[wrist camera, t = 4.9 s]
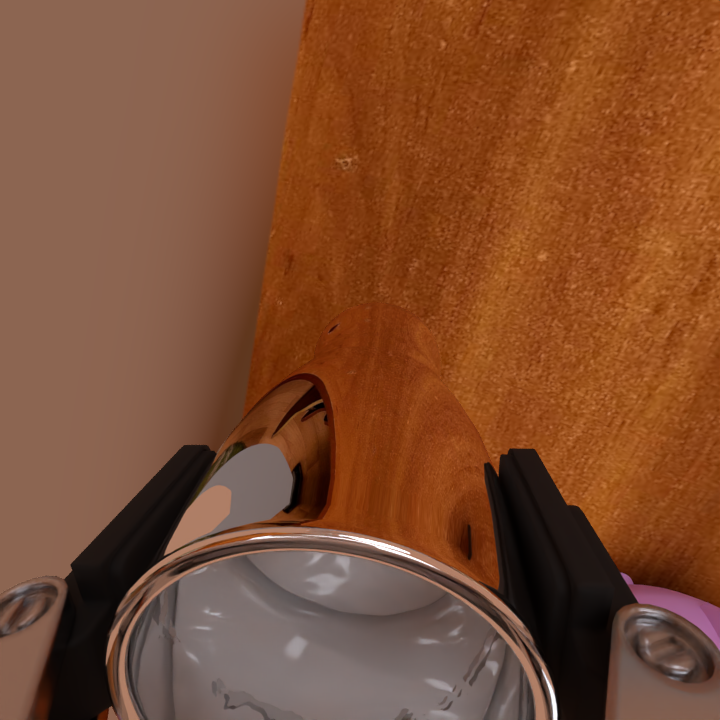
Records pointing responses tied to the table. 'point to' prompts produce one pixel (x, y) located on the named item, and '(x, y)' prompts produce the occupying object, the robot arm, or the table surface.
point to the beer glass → (339, 558)
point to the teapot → (681, 607)
